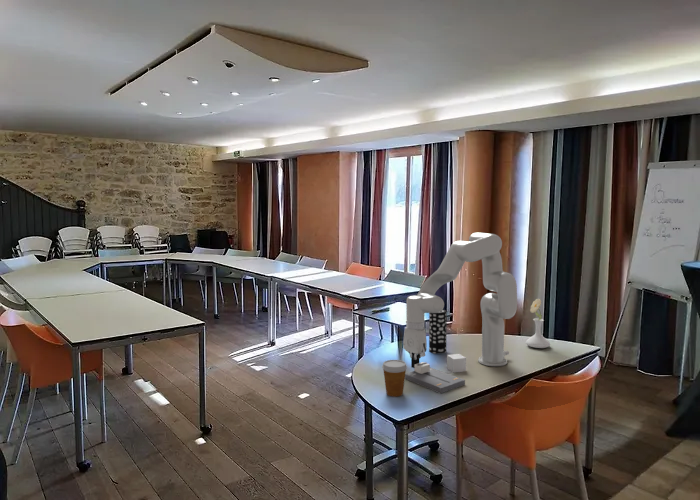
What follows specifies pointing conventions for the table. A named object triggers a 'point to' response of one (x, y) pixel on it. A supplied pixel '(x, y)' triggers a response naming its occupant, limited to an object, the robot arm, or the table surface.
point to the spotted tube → (437, 332)
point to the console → (435, 380)
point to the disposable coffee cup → (394, 377)
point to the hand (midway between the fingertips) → (415, 367)
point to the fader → (422, 367)
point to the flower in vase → (537, 329)
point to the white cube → (456, 363)
